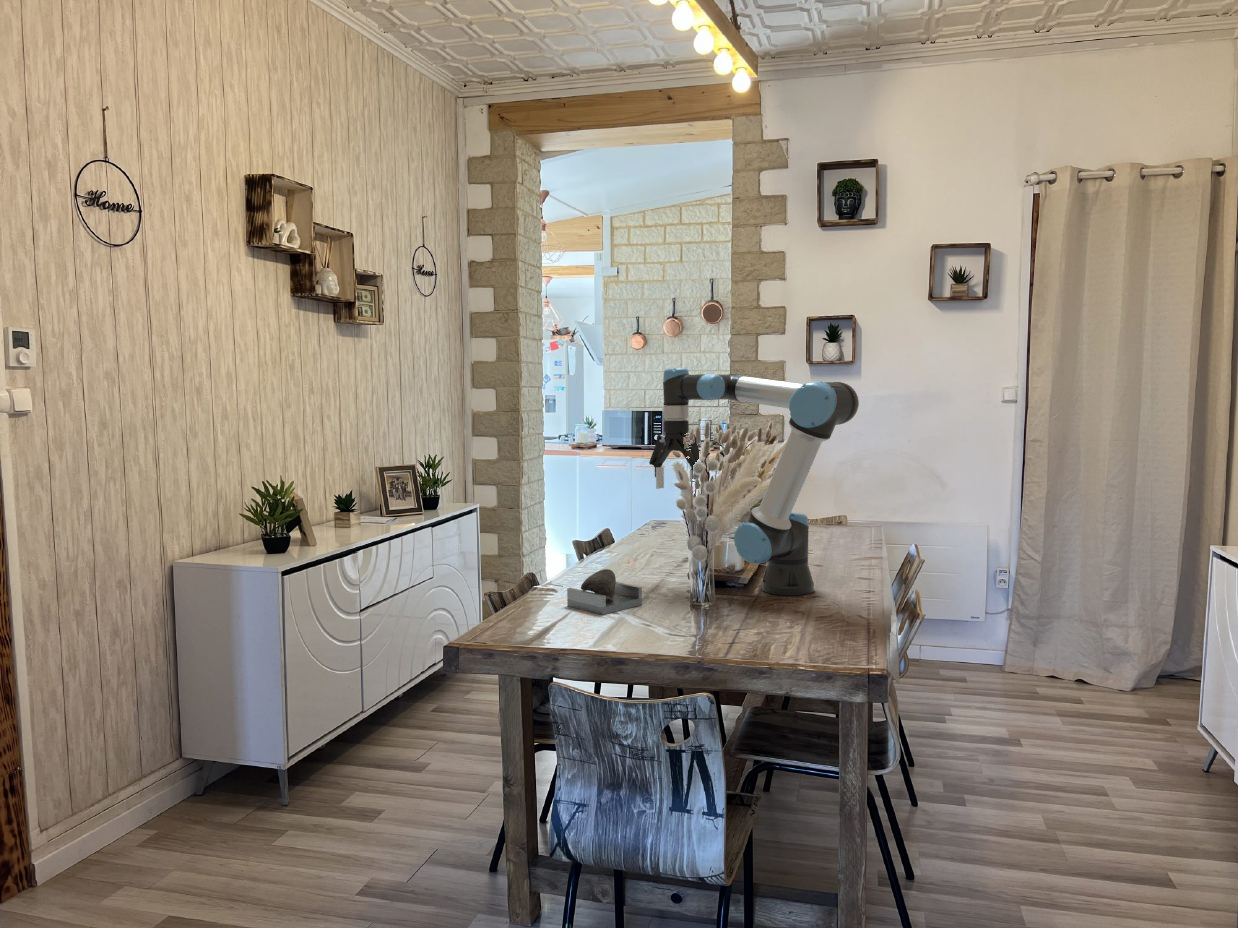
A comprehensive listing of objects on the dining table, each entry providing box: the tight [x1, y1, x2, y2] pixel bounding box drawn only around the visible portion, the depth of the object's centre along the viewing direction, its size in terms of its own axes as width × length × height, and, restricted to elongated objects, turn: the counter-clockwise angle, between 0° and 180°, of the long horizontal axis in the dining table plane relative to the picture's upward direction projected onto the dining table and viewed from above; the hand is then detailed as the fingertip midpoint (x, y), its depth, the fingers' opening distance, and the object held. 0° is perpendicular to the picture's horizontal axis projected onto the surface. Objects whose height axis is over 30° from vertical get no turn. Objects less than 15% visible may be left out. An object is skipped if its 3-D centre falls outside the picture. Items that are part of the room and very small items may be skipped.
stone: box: [580, 568, 617, 598], centre depth 247 cm, size 10×8×10 cm
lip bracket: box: [566, 581, 643, 616], centre depth 248 cm, size 14×15×5 cm
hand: (676, 490), depth 272 cm, fingers open, 13 cm apart
